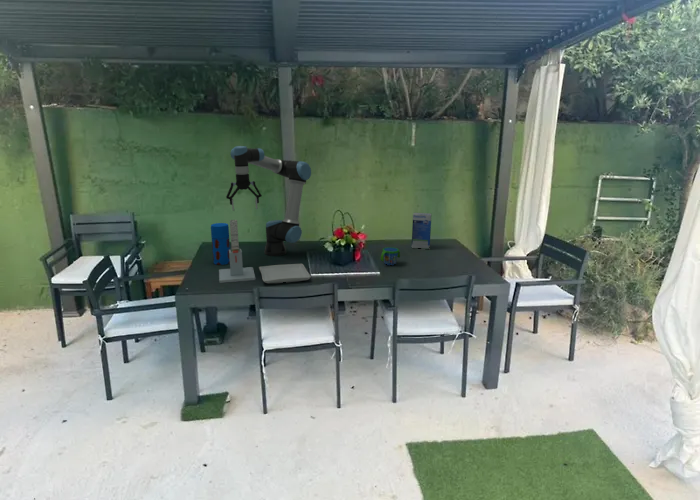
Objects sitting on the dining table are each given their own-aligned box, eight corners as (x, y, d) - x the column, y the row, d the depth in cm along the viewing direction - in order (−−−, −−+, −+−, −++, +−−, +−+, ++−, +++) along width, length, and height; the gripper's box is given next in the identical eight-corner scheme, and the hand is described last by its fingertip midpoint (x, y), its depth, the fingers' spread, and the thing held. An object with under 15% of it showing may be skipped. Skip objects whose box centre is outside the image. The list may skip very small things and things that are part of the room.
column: (239, 262, 262) (237, 219, 255) (239, 264, 258) (237, 221, 251) (232, 263, 261) (229, 220, 254) (232, 265, 257) (229, 221, 250)
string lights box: (429, 247, 328) (432, 213, 320) (429, 250, 320) (431, 215, 313) (411, 246, 330) (413, 212, 323) (410, 248, 323) (412, 214, 316)
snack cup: (394, 260, 295) (395, 245, 293) (404, 264, 287) (405, 249, 284) (375, 264, 287) (376, 249, 284) (385, 268, 279) (386, 252, 276)
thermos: (225, 265, 280) (223, 227, 273) (210, 264, 282) (207, 226, 275) (233, 260, 290) (231, 223, 283) (218, 259, 292) (215, 222, 285)
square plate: (311, 282, 253) (311, 276, 252) (263, 287, 245) (262, 280, 244) (302, 268, 278) (302, 262, 277) (258, 271, 270) (258, 265, 269)
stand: (252, 269, 273) (251, 243, 269) (255, 280, 255) (254, 252, 250) (219, 271, 268) (217, 246, 263) (219, 282, 249) (217, 255, 245)
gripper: (263, 171, 263) (265, 206, 269) (219, 173, 256) (223, 209, 262) (264, 173, 256) (267, 209, 262) (220, 175, 249) (223, 212, 255)
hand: (245, 209), depth 262 cm, fingers open, 13 cm apart
